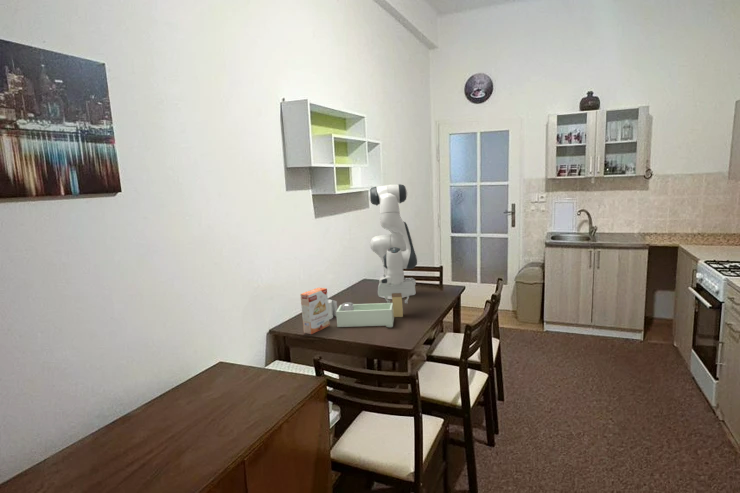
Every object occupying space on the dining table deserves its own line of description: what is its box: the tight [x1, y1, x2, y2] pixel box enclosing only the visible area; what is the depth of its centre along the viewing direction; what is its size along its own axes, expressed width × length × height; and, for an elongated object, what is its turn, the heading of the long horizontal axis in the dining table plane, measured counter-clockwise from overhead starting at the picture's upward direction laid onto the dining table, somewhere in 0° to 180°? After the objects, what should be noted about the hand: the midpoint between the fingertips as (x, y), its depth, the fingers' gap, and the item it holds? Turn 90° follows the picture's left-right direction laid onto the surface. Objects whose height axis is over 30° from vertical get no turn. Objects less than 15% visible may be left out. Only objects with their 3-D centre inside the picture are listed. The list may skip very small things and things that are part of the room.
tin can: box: [341, 302, 354, 311], centre depth 228 cm, size 6×6×10 cm
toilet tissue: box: [328, 299, 338, 321], centre depth 240 cm, size 11×12×10 cm
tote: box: [335, 302, 395, 328], centre depth 227 cm, size 12×28×9 cm, turn 84°
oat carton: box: [391, 293, 404, 318], centre depth 237 cm, size 5×5×13 cm
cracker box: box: [300, 287, 330, 335], centre depth 221 cm, size 14×6×21 cm, turn 145°
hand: (397, 303), depth 236 cm, fingers open, 8 cm apart
